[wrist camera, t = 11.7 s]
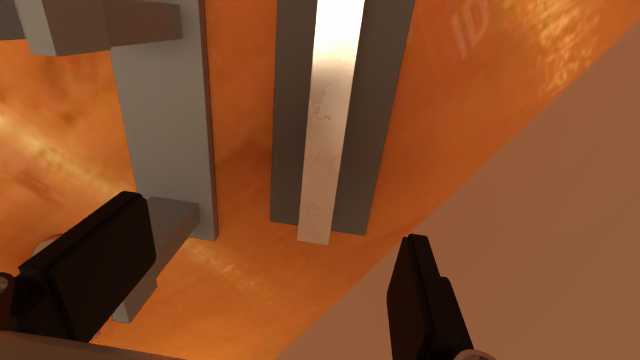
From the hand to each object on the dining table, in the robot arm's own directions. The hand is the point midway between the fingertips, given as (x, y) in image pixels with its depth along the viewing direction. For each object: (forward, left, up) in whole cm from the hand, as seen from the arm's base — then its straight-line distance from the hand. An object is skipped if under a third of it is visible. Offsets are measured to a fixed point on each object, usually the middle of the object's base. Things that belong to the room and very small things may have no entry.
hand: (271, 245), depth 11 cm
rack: (-3, +14, -18) cm, 24 cm away
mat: (0, -1, -18) cm, 18 cm away
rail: (0, -1, -18) cm, 18 cm away
